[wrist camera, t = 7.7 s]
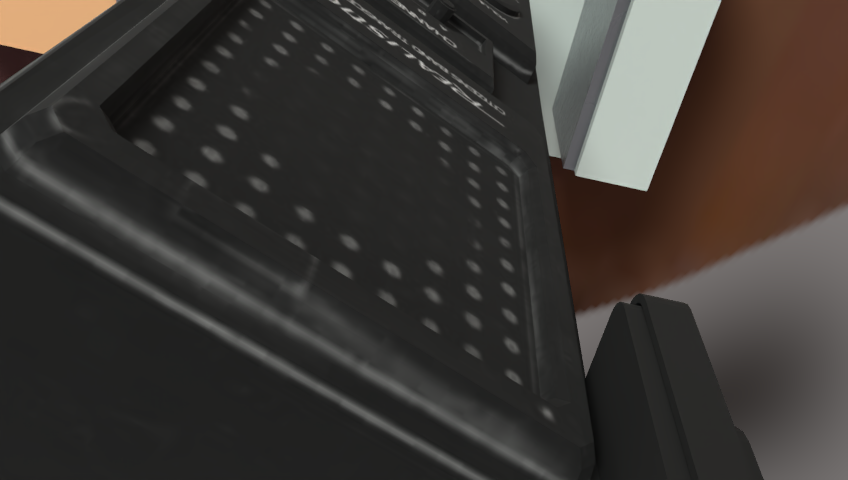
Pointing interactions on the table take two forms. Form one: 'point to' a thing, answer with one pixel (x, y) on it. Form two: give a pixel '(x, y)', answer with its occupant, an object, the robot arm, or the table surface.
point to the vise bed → (615, 80)
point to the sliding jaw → (45, 21)
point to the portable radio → (286, 249)
